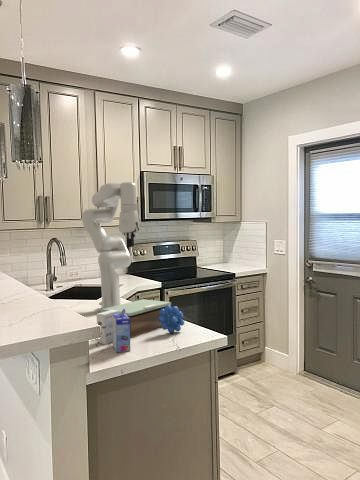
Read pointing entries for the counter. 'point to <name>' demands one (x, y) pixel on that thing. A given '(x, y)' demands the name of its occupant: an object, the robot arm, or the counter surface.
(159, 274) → the counter surface
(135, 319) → the storage box
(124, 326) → the ink cartridge box
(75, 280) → the counter surface
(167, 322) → the grapes
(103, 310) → the lid
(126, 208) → the robot arm
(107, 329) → the ink box
